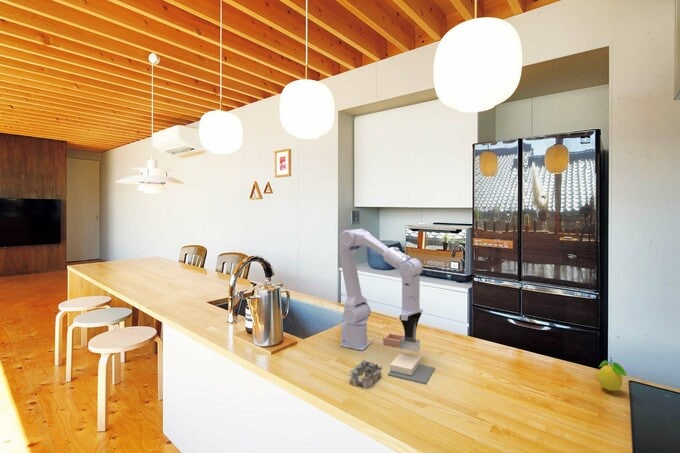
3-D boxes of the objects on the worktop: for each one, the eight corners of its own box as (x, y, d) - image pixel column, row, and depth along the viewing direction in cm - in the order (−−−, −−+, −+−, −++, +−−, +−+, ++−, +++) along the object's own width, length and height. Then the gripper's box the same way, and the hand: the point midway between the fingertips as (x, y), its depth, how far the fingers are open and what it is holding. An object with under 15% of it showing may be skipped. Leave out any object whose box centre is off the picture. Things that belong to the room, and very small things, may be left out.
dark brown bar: (417, 352, 117) (418, 322, 116) (399, 348, 119) (400, 319, 119) (419, 348, 119) (420, 319, 118) (402, 345, 122) (403, 316, 121)
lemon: (625, 400, 96) (627, 364, 95) (598, 394, 99) (600, 359, 98) (621, 389, 101) (623, 355, 101) (596, 383, 104) (598, 350, 104)
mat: (387, 375, 111) (387, 374, 111) (399, 361, 120) (399, 360, 120) (426, 384, 105) (426, 383, 105) (434, 368, 115) (434, 367, 115)
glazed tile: (400, 358, 121) (390, 371, 112) (400, 352, 121) (390, 364, 112) (420, 363, 118) (411, 376, 109) (420, 356, 118) (411, 369, 109)
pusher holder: (406, 349, 130) (406, 342, 130) (383, 344, 134) (383, 338, 134) (411, 343, 135) (411, 336, 135) (388, 339, 140) (388, 332, 139)
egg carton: (369, 390, 102) (369, 377, 102) (346, 384, 106) (346, 370, 106) (384, 375, 111) (384, 362, 111) (363, 369, 115) (363, 357, 115)
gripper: (416, 302, 110) (416, 344, 111) (428, 291, 122) (427, 329, 123) (394, 299, 113) (394, 340, 114) (408, 289, 126) (408, 326, 127)
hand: (410, 335), depth 119 cm, fingers closed on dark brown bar, 3 cm apart
